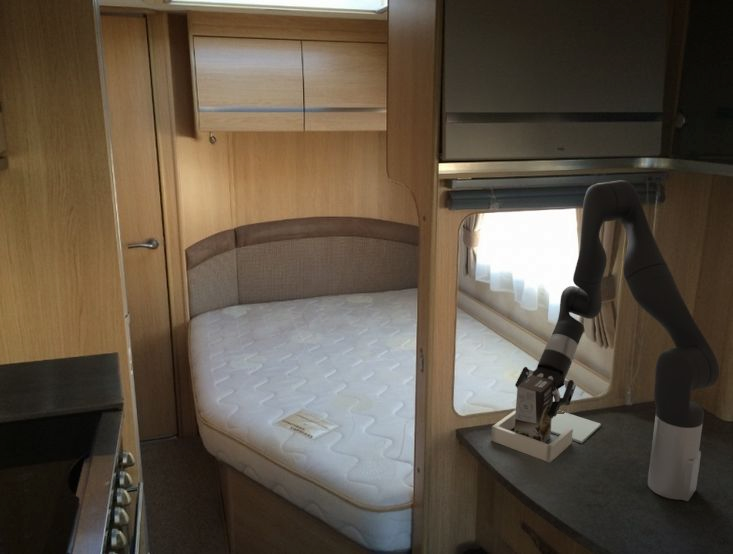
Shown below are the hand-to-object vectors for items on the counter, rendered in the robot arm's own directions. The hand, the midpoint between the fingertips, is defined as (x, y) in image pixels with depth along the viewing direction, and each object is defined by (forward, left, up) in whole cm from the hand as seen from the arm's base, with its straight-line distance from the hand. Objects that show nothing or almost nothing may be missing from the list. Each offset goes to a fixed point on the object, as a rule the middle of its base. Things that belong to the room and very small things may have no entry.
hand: (534, 411), depth 163 cm
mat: (-3, -13, -8) cm, 15 cm away
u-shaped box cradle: (0, 0, -8) cm, 8 cm away
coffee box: (0, 0, -8) cm, 8 cm away
